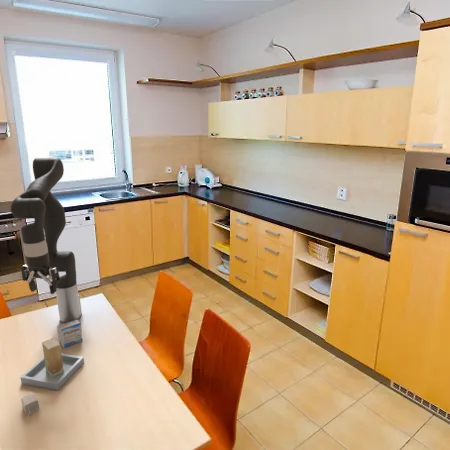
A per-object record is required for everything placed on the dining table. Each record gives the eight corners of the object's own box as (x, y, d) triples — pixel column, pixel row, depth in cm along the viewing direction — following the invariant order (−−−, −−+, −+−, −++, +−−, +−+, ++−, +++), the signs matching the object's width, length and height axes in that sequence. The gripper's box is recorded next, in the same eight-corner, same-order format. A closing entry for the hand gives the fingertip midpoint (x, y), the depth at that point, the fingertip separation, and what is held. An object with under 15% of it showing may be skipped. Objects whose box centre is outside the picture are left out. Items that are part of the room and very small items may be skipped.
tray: (50, 357, 139) (49, 351, 138) (84, 363, 136) (83, 357, 135) (21, 383, 125) (20, 377, 124) (58, 390, 122) (57, 384, 121)
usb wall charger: (36, 401, 117) (34, 392, 116) (42, 414, 112) (40, 404, 111) (22, 408, 115) (20, 397, 114) (28, 421, 110) (26, 410, 109)
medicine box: (63, 348, 145) (61, 329, 143) (60, 343, 148) (57, 325, 146) (83, 340, 150) (80, 322, 148) (79, 336, 153) (77, 318, 151)
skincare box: (45, 370, 131) (40, 341, 128) (57, 364, 134) (53, 336, 131) (52, 378, 127) (48, 349, 124) (64, 372, 130) (60, 343, 127)
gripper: (60, 250, 130) (66, 289, 135) (27, 246, 133) (34, 285, 138) (46, 258, 123) (53, 299, 128) (11, 254, 126) (19, 294, 131)
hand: (43, 291), depth 133 cm, fingers open, 8 cm apart
